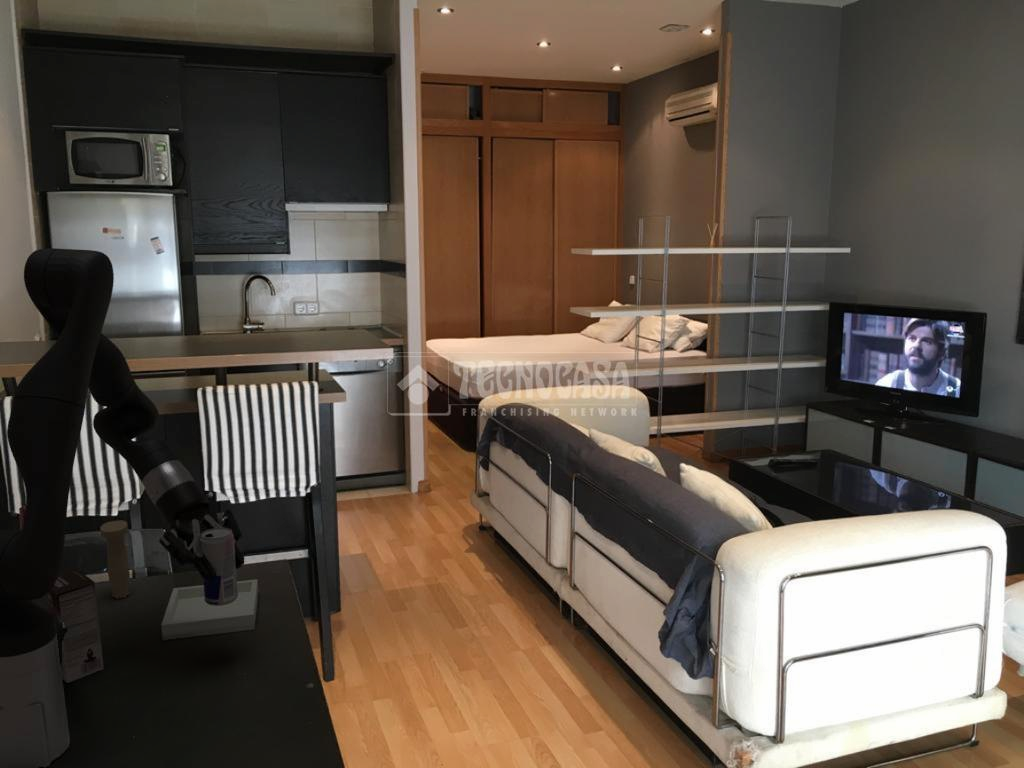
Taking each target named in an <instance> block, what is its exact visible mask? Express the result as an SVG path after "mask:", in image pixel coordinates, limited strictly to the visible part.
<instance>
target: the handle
mask: <svg viewBox="0 0 1024 768" xmlns="http://www.w3.org/2000/svg"><path fill="white" fill-rule="evenodd" d="M128 530H129V527H128V522H127V521H126V520H122V519H121V520H111V521H108V522H105V523H103V524H101V525H100V535H101V537H102V538H105V540H106V555H107V556H106V560H107V575H108V582H109V586H110V590H111V596H112V597H113V598H115V599H116V600H120V599H125V598H127V597H128V596H129V595H130V594H131V588H130V586H131V583H130V582H131V580H130V579H131V577H130V565H129V559H128V554H127V553H128V552H127V549H126V548H127V547H126V543H125V542H126V541H125V535H126V534H128ZM127 595H128V596H127ZM119 598H120V599H119Z"/></svg>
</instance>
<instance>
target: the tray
mask: <svg viewBox="0 0 1024 768" xmlns="http://www.w3.org/2000/svg"><path fill="white" fill-rule="evenodd" d="M258 584H259V583H258V579H257V578H256V579H248V580H239V581H238V580H237V591H238V597H237V598H236V600H235V601H233V602H232V603H229V604H226V605H221V606H212V605H209V604H207V603H206V602H205V597H204V584H203V585H201V584H200V585H192V586H185V587H184V586H183V587H173V589H172V592H171V594H170V598H169V600H168V605H167V606H166V609H165V613H164V617H163V618H162V621H161V625H160V626H161V638H162V641H169V639H171V640H177V638H180V639H188V638H195V637H194V636H196V637H203V636H212V635H218V634H219V635H220V634H228V633H236V632H244V631H252V630H255V628H256V619H257V609H258V601H259V598H258V597H259V585H258ZM187 637H188V638H187Z"/></svg>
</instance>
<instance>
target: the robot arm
mask: <svg viewBox="0 0 1024 768" xmlns="http://www.w3.org/2000/svg"><path fill="white" fill-rule="evenodd" d="M114 274H115V273H114V267H113V263H112V261H111V259H110V257H109V256H108V255H107V254H105V253H104V252H102V251H97V250H91V249H74V248H54V247H53V248H52V247H49V248H47V247H46V248H40V249H35V250H34V251H33V252H32V253H31V254H29V256H28V257H27V259H26V261H25V264H24V269H23V282H24V285H25V289H26V292H27V294H28V296H29V299H30V300H31V302H32V303H33V305H34V307H35V308H36V309H37V311H38V312H39V313H40V314H41V316H42V317H43V318H44V320H45V322H46V323H47V324H48V326H49V327H50V328H51V330H52V331H53V333H54V334H55V335H56V337H57V340H56V341H55V342H54V344H53V345H51V347H50V348H49V349H48V350H47V352H45V353H44V354H43V356H41V358H39V360H38V361H37V362H35V364H34V365H33V366H32V367H31V368H30V369H29V370H28V371H27V372H26V373H25V375H24V376H23V377H22V379H21V380H20V382H19V383H18V384H17V387H16V389H15V392H14V394H13V398H12V404H11V408H10V414H9V418H8V421H7V428H6V429H7V430H6V437H7V442H8V446H9V448H10V452H11V455H12V457H13V459H14V461H15V464H16V466H17V468H18V471H19V473H20V475H21V476H20V477H21V479H22V482H23V485H24V488H25V489H24V490H25V509H24V510H25V512H24V519H23V524H22V527H21V530H19V529H0V768H39V767H44V768H47V766H48V767H50V765H51V763H52V762H53V761H54V760H56V759H57V758H59V757H61V755H63V754H64V753H65V751H67V750H68V749H69V747H70V744H71V737H70V730H69V722H68V720H69V719H68V715H67V714H68V713H67V709H66V707H67V705H66V699H65V698H66V697H65V692H64V691H65V690H64V683H63V681H64V680H63V679H62V673H61V665H60V657H59V648H58V640H57V633H56V632H57V631H56V623H55V619H54V616H53V615H52V613H51V612H49V611H48V610H46V609H44V608H42V607H40V605H38V604H36V603H34V602H33V601H32V600H40V599H39V598H42V597H44V596H45V595H46V594H48V593H49V592H50V591H51V589H52V588H53V586H54V584H55V582H56V580H57V578H58V575H59V572H61V568H62V562H63V557H64V548H65V539H66V529H67V528H66V526H67V514H68V505H69V498H70V497H69V496H70V489H71V481H72V476H73V470H74V464H75V459H76V455H77V454H76V453H77V449H78V444H79V439H80V437H81V432H82V428H83V423H84V417H85V411H86V405H87V399H88V391H89V392H90V394H91V396H92V399H93V400H94V402H96V404H98V405H99V406H102V407H104V408H102V409H100V410H98V411H97V412H96V413H95V414H94V416H93V420H92V425H93V429H94V431H95V434H96V435H97V437H99V438H100V440H102V441H103V442H104V443H105V444H106V445H108V446H109V447H110V448H111V449H113V450H114V451H115V452H116V453H117V454H118V455H120V456H121V457H122V458H123V459H124V460H125V461H126V462H127V463H128V464H129V466H131V468H132V469H133V471H134V472H135V474H136V475H137V477H138V479H139V480H140V482H141V483H142V486H143V487H144V490H145V491H146V493H147V496H148V497H149V499H150V501H151V502H152V503H153V505H154V507H155V508H156V509H157V511H158V512H159V514H160V515H161V517H162V519H163V520H164V522H165V523H166V525H167V526H168V527H170V530H168V529H167V530H166V531H164V533H162V535H161V537H160V538H159V540H158V543H159V544H160V545H161V546H162V547H163V548H164V549H165V550H166V551H167V552H168V553H169V554H170V556H171V557H173V559H174V560H175V561H176V562H177V563H178V564H179V565H180V566H185V565H186V564H191V565H193V566H194V567H195V569H196V571H197V572H198V573H199V575H200V576H201V578H202V579H206V580H207V581H211V580H213V578H214V577H215V576H216V572H215V570H214V569H213V567H212V566H211V564H210V563H209V561H208V560H207V558H206V557H205V556H204V557H203V552H202V548H201V541H200V539H201V534H202V533H203V532H204V531H206V530H209V529H214V528H229V529H231V530H232V533H233V535H234V546H235V561H236V570H238V569H240V568H242V567H243V565H245V556H244V555H243V553H242V552H241V550H240V548H239V547H238V546H237V542H238V541H239V540H240V539H241V538H242V536H243V535H242V532H241V530H240V528H239V525H238V522H237V520H236V518H235V517H234V514H233V512H232V510H231V509H229V508H226V509H225V510H224V511H223V512H216V511H214V510H213V509H212V508H211V507H210V505H209V501H208V498H207V497H206V495H205V494H204V493H203V491H202V490H201V488H200V487H199V485H198V483H197V482H196V481H195V479H194V478H193V476H192V475H191V473H190V471H189V470H188V469H187V468H186V467H185V465H183V463H182V462H181V461H180V459H179V458H178V457H177V455H176V454H175V452H174V451H173V449H172V447H171V445H170V444H169V443H168V442H167V440H166V439H164V438H162V437H157V436H156V437H150V438H147V439H144V440H143V439H142V440H134V439H136V438H138V437H140V436H142V435H143V434H146V433H148V432H150V431H152V430H153V429H155V427H157V425H158V423H159V422H160V421H159V420H160V413H159V410H158V407H157V405H156V404H154V402H153V401H152V399H151V398H149V397H148V396H147V395H146V394H145V393H144V392H143V391H142V390H141V388H139V386H138V384H137V383H136V380H135V378H134V377H133V374H132V371H131V369H130V366H129V365H128V361H127V359H126V358H125V355H124V354H123V352H122V351H121V350H120V349H119V347H118V346H117V345H116V344H115V343H114V342H113V341H112V340H110V338H108V337H107V336H106V335H105V334H103V332H102V331H103V328H104V324H105V321H106V318H107V314H108V310H109V307H110V304H111V301H112V300H111V299H112V295H113V291H114V281H115V278H114V277H115V276H114ZM181 540H183V541H184V543H183V542H182V541H181Z"/></svg>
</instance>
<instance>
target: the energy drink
mask: <svg viewBox="0 0 1024 768" xmlns="http://www.w3.org/2000/svg"><path fill="white" fill-rule="evenodd" d="M200 541H201V548H202V552H203V557H204V556H205V557H206V558H207V560H208V561H209V563H210V564H211V566H212V567H213V569H214V570H215V572H216V576H215V577H214V578H213V580H211V581H207V580H206V579H203V578H202V579H203V580H202V582H203V585H204V597H205V602H206V603H207V604H209V605H212V606H221V605H226V604H229V603H232V602H233V601H235V600H236V598H237V597H238V591H237V581H238V579H237V578H238V577H237V569H236V561H235V546H234V535H233V533H232V530H231V529H229V528H214V529H209V530H206V531H204V532H203V533H202V534H201V539H200Z"/></svg>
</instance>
